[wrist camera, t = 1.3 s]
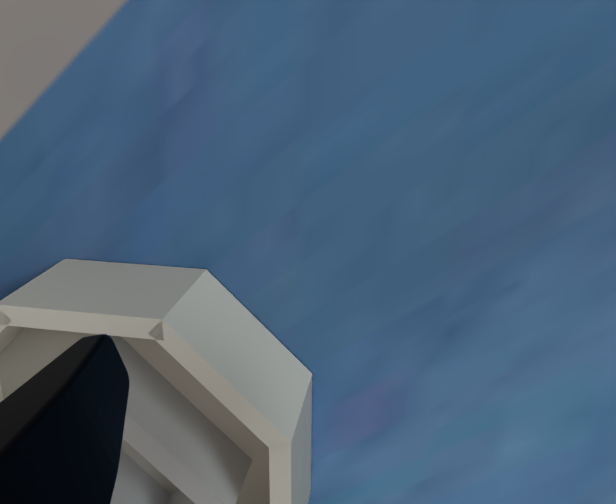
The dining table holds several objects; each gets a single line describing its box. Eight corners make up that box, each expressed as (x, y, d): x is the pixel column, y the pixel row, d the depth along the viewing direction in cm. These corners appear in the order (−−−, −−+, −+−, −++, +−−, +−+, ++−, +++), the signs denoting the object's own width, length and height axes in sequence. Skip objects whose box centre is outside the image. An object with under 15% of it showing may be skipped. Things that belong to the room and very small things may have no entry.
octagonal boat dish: (167, 586, 31) (128, 673, 27) (-57, 391, 29) (-136, 452, 25) (382, 443, 25) (375, 523, 21) (126, 190, 23) (63, 225, 19)
